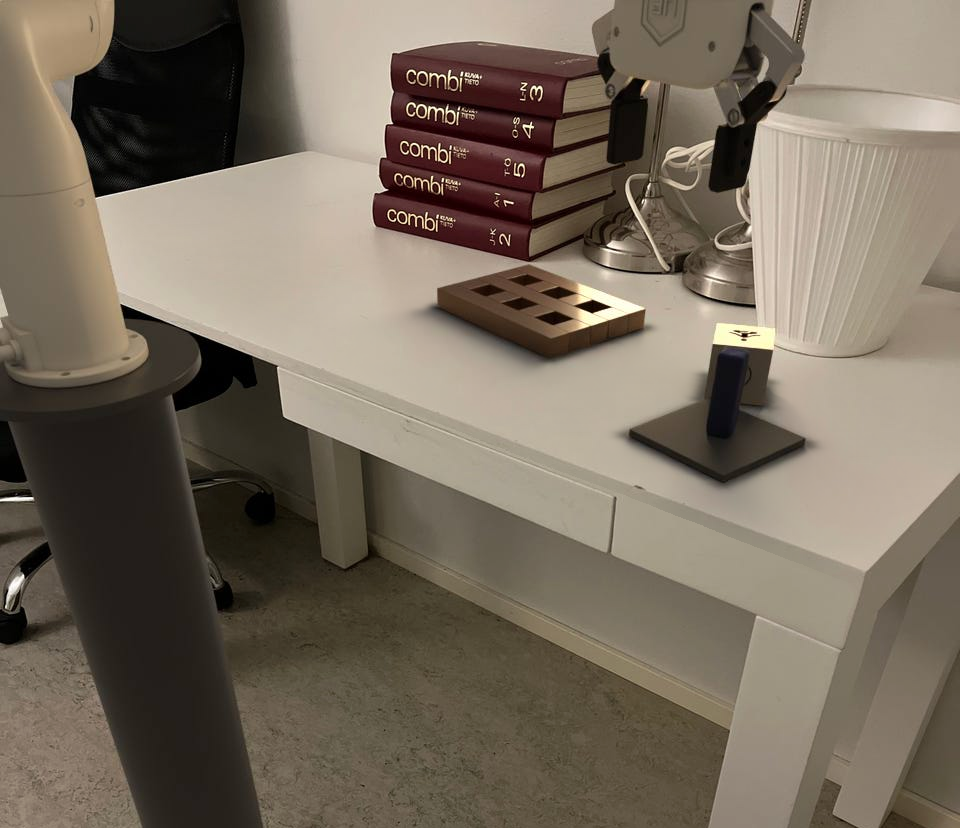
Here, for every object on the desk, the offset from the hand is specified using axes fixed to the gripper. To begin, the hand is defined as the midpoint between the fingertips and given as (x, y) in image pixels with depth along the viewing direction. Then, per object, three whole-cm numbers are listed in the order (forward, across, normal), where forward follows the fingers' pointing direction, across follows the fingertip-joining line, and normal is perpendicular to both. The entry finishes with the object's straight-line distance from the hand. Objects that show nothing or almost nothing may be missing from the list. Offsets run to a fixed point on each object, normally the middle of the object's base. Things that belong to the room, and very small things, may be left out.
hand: (673, 174), depth 68 cm
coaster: (+19, +5, +3) cm, 20 cm away
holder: (+20, -25, +10) cm, 33 cm away
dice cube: (+20, 0, +12) cm, 23 cm away
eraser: (+19, +5, +4) cm, 20 cm away
